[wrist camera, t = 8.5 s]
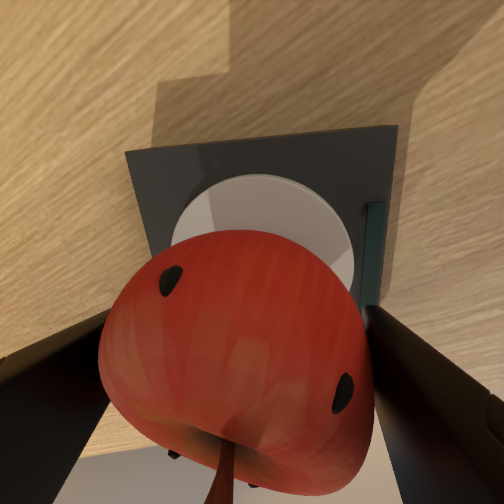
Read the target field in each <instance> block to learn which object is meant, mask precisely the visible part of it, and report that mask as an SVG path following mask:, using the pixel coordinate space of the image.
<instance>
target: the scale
mask: <svg viewBox="0 0 504 504" xmlns="http://www.w3.org/2000/svg"><path fill="white" fill-rule="evenodd" d="M397 135H398V125H378V126H368V127H357V128H347V129H337V130H327V131H317V132H307V133H297V134H286V135H276V136H266V137H256V138H246V139H236V140H226V141H215V142H205V143H195V144H185V145H175V146H165V147H155V148H146V149H139V150H132V151H126V152H125V156H126V160H127V164H128V168H129V171H130V175H131V179H132V183H133V186H134V190H135V194H136V198H137V201H138V205H139V209H140V213H141V216H142V220H143V224H144V228H145V231H146V235H147V239H148V243H149V246H150V250H151V254H152V258H154V257H155V256H156V255H158V254H159V253H161V252H162V251H164V250H166V249H167V248H169V247H171V246H173V245H175V244H177V243H179V242H181V241H184V240H186V239H189V238H192V237H195V236H198V235H202V234H206V233H210V232H215V231H222V230H243V229H244V230H256V231H263V232H268V233H273V234H277V235H280V236H282V237H285V238H287V239H290V240H292V241H294V242H296V243H298V244H299V245H301V246H303V247H305V248H306V249H308V250H309V251H311V252H312V253H313V254H315V255H316V256H318V257H319V258H320V259H321V260H322V261H323V262H324V263H326V264H327V265H328V266H329V267H330V268H331V269H332V271H333V272H334V273H335V274H336V275H337V276H338V277H339V279H340V280H341V281H342V283H343V284H344V285H345V287H346V288H347V290H348V291H349V293H350V295H351V296H352V298H353V300H354V302H355V304H356V306H357V308H358V310H359V313H360V315H362V307H363V306H364V305H378V306H379V297H380V288H381V279H382V270H383V261H384V252H385V243H386V234H387V225H388V216H389V207H390V198H391V189H392V180H393V171H394V162H395V153H396V144H397Z"/></svg>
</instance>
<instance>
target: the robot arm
mask: <svg viewBox="0 0 504 504" xmlns="http://www.w3.org/2000/svg"><path fill="white" fill-rule="evenodd" d="M110 310H111V308H110V309H108V310H106V311H103V312H101V313H99V314H97V315H95V316H93V317H90V318H88V319H86V320H84V321H82V322H79V323H77V324H75V325H73V326H71V327H69V328H66V329H64V330H62V331H60V332H58V333H55V334H53V335H51V336H49V337H47V338H45V339H42V340H40V341H38V342H36V343H34V344H32V345H29V346H27V347H25V348H23V349H21V350H18V351H16V352H14V353H12V354H10V355H8V356H7V357H3V358H1V359H0V504H52V503H53V502H54V500H55V498H56V497H57V495H58V493H59V491H60V490H61V488H62V486H63V484H64V483H65V480H66V479H67V477H68V475H69V474H70V472H71V470H72V468H73V467H74V465H75V463H76V461H77V460H78V458H79V456H80V454H81V453H82V451H83V449H84V447H85V446H86V444H87V442H88V440H89V438H90V437H91V435H92V433H93V431H94V430H95V428H96V426H97V424H98V423H99V421H100V419H101V417H102V416H103V414H104V412H105V410H106V408H107V407H108V405H109V403H110V401H111V400H110V398H109V397H108V395H107V393H106V391H105V389H104V387H103V384H102V381H101V377H100V372H99V367H98V351H99V343H100V338H101V334H102V330H103V328H104V325H105V322H106V319H107V317H108V314H109V312H110ZM361 317H362V320H363V323H364V326H365V330H366V333H367V338H368V343H369V348H370V353H371V360H372V368H373V379H374V394H375V409H376V412H377V415H378V419H379V422H380V426H381V429H382V432H383V436H384V439H385V443H386V446H387V450H388V453H389V457H390V460H391V464H392V467H393V471H394V474H395V477H396V481H397V484H398V488H399V491H400V495H401V498H402V502H403V504H504V401H502V400H501V399H500V398H498V397H497V396H496V395H494V394H491V395H490V391H489V390H488V389H487V388H485V387H484V386H483V385H481V384H480V383H479V382H477V381H476V380H475V379H474V378H472V377H471V376H470V375H468V374H467V373H466V372H464V371H463V370H462V369H461V368H459V367H458V366H457V365H455V364H454V363H453V362H451V361H450V360H449V359H448V358H446V357H445V356H444V355H442V354H441V353H440V352H438V351H437V350H436V349H435V348H433V347H432V346H431V345H429V344H428V343H427V342H425V341H424V340H423V339H422V338H420V337H419V336H418V335H416V334H415V333H414V332H413V331H411V330H410V329H409V328H407V327H406V326H405V325H403V324H402V323H401V322H400V321H398V320H397V319H396V318H394V317H393V316H392V315H390V314H389V313H388V312H387V311H385V310H384V309H383V308H381V307H380V306H378V305H364V306H363V307H362V315H361Z"/></svg>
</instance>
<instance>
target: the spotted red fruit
mask: <svg viewBox="0 0 504 504" xmlns="http://www.w3.org/2000/svg"><path fill="white" fill-rule="evenodd" d="M98 367H99V372H100V377H101V381H102V384H103V387H104V389H105V391H106V393H107V395H108V397H109V398H110V400H111V402H112V403H113V405H114V406H115V407H116V409H117V410H118V411H119V412H120V413H121V414H122V416H123V417H124V418H125V419H126V420H127V421H128V422H129V423H130V424H131V425H133V426H134V427H135V428H136V429H137V430H138V431H139V432H140V433H142V434H143V435H145V436H146V437H147V438H149V439H150V440H152V441H153V442H155V443H157V444H159V445H160V446H162V447H165V448H166V449H168V450H169V452H168V455H169V456H170V457H171V458H173V459H177V458H178V457H180V456H184V457H187V458H188V459H191V460H193V461H195V462H198V463H200V464H203V465H205V466H207V467H210V468H212V469H214V470H217V473H216V476H215V478H214V481H213V484H212V486H211V489H210V491H209V494H208V496H207V498H206V500H205V503H204V504H233V480H234V478H235V479H238V480H241V481H243V482H247V483H248V485H249V486H250V487H251V488H257V487H263V488H267V489H270V490H274V491H279V492H284V493H288V494H294V495H304V496H319V495H326V494H330V493H333V492H336V491H338V490H340V489H342V488H343V487H345V486H346V485H347V484H348V483H350V482H351V480H352V479H353V478H354V477H355V476H356V475H357V473H358V472H359V470H360V468H361V467H362V465H363V463H364V460H365V458H366V455H367V452H368V449H369V446H370V443H371V437H372V432H373V424H374V408H375V394H374V379H373V368H372V360H371V353H370V348H369V343H368V338H367V333H366V330H365V326H364V323H363V320H362V317H361V315H360V313H359V310H358V308H357V306H356V304H355V302H354V300H353V298H352V296H351V295H350V293H349V291H348V290H347V288H346V287H345V285H344V284H343V283H342V281H341V280H340V279H339V277H338V276H337V275H336V274H335V273H334V272H333V271H332V269H331V268H330V267H329V266H328V265H327V264H326V263H324V262H323V261H322V260H321V259H320V258H319V257H318V256H316V255H315V254H313V253H312V252H311V251H309V250H308V249H306V248H305V247H303V246H301V245H299V244H298V243H296V242H294V241H292V240H290V239H287V238H285V237H282V236H280V235H277V234H273V233H268V232H263V231H256V230H244V229H243V230H222V231H215V232H210V233H206V234H202V235H198V236H195V237H192V238H189V239H186V240H184V241H181V242H179V243H177V244H175V245H173V246H171V247H169V248H167V249H166V250H164V251H162V252H161V253H159V254H158V255H156V256H155V257H154V258H152V259H151V260H150V261H148V262H147V263H146V264H145V265H144V266H143V267H142V268H141V269H140V270H139V271H138V272H137V273H136V274H135V275H134V276H133V277H132V278H131V280H130V281H129V282H128V283H127V284H126V286H125V287H124V289H123V290H122V292H121V293H120V295H119V296H118V298H117V299H116V301H115V303H114V305H113V306H112V308H111V310H110V312H109V314H108V317H107V319H106V322H105V325H104V328H103V330H102V334H101V338H100V343H99V351H98Z"/></svg>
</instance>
